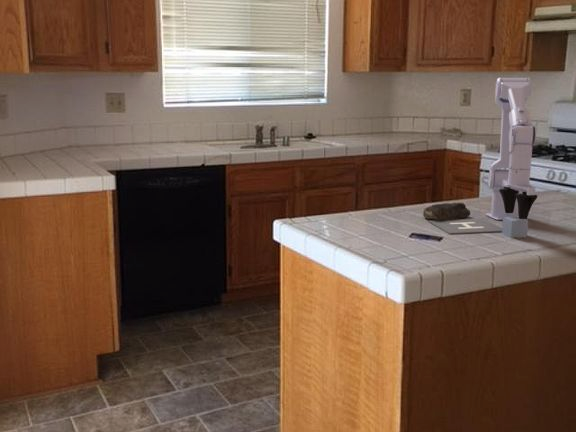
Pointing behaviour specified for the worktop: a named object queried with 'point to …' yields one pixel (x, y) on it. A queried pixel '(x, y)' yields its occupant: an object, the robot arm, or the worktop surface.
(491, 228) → the letter board
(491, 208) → the robot arm
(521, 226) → the gray cube
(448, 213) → the rock
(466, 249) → the worktop surface
